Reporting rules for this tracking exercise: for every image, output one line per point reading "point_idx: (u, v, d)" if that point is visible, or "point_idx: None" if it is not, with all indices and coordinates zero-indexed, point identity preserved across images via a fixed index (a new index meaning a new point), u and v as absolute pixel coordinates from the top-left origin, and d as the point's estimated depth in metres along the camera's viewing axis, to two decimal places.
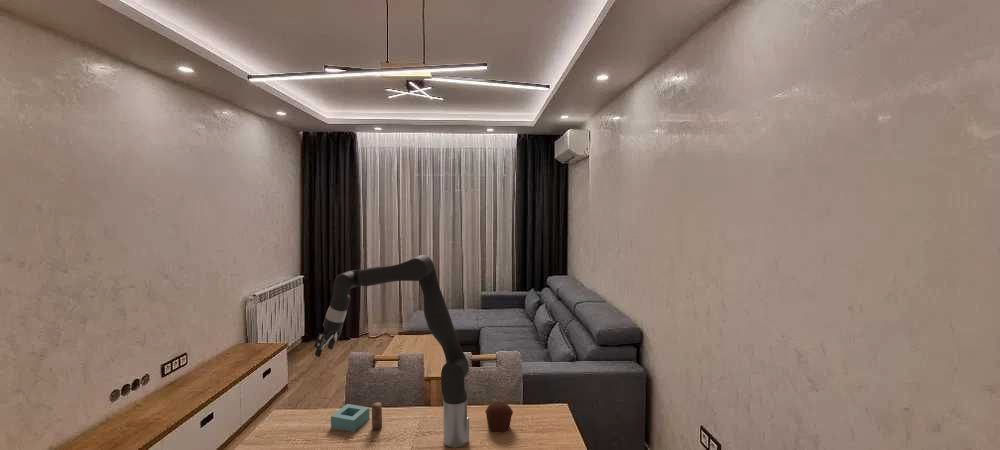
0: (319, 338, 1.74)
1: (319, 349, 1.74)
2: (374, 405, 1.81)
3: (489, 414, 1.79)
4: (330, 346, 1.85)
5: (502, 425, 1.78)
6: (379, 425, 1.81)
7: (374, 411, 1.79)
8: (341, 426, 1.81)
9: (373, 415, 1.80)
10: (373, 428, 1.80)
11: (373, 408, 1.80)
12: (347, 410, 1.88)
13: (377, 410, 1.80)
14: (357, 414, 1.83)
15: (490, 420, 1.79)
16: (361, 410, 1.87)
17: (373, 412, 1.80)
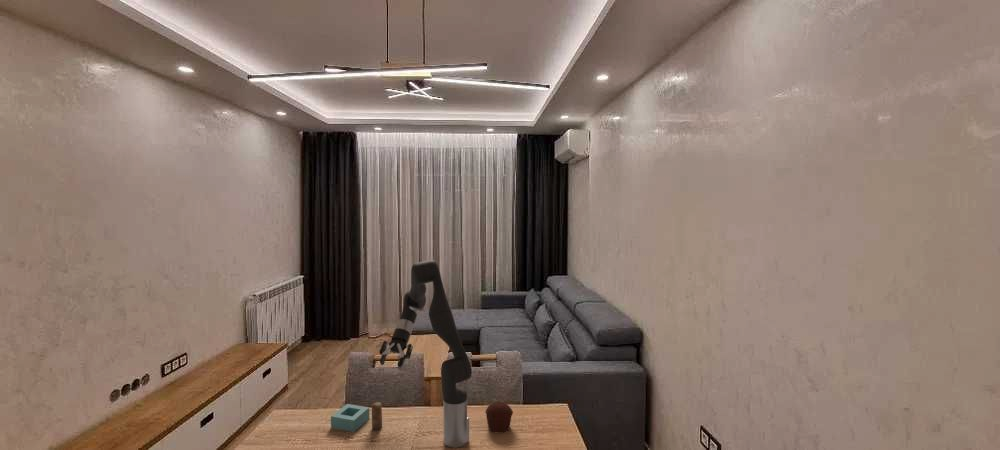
0: None
1: (379, 352, 1.95)
2: (374, 405, 1.81)
3: (489, 414, 1.79)
4: None
5: (502, 425, 1.78)
6: (379, 425, 1.81)
7: (374, 411, 1.79)
8: (341, 426, 1.81)
9: (373, 415, 1.80)
10: (373, 428, 1.80)
11: (373, 408, 1.80)
12: (347, 410, 1.88)
13: (377, 410, 1.80)
14: (357, 414, 1.83)
15: (490, 420, 1.79)
16: (361, 410, 1.87)
17: (373, 412, 1.80)
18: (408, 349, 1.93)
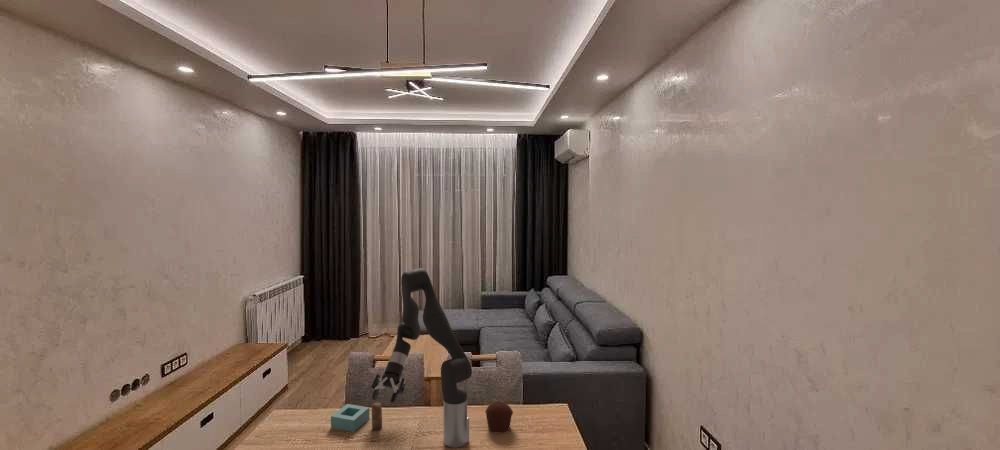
0: None
1: None
2: (374, 405, 1.81)
3: (489, 414, 1.79)
4: None
5: (502, 425, 1.78)
6: (379, 425, 1.81)
7: (374, 411, 1.79)
8: (341, 426, 1.81)
9: (373, 415, 1.80)
10: (373, 428, 1.80)
11: (373, 408, 1.80)
12: (347, 410, 1.88)
13: (377, 410, 1.80)
14: (357, 414, 1.83)
15: (490, 420, 1.79)
16: (361, 410, 1.87)
17: (373, 412, 1.80)
18: (401, 384, 1.88)
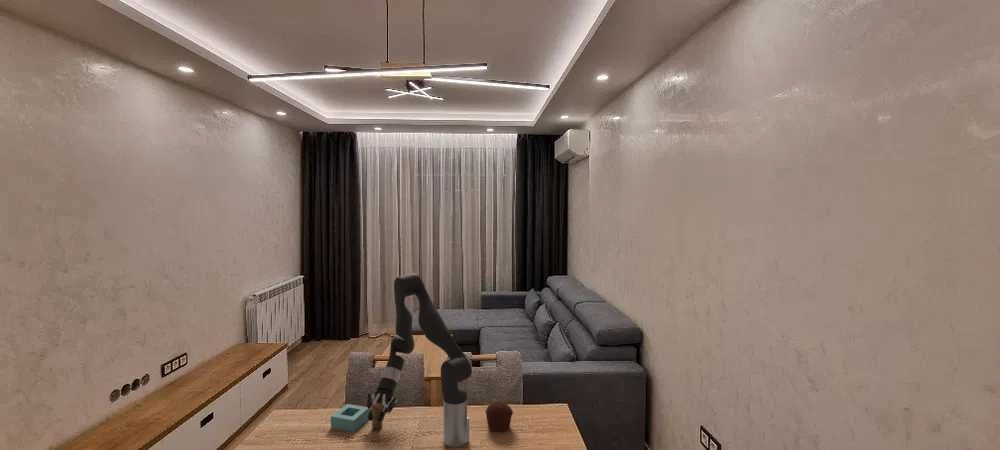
0: None
1: (367, 407, 1.83)
2: (374, 405, 1.81)
3: (489, 414, 1.79)
4: None
5: (502, 425, 1.78)
6: (379, 425, 1.81)
7: (374, 411, 1.79)
8: (341, 426, 1.81)
9: (373, 415, 1.80)
10: (373, 428, 1.80)
11: (373, 408, 1.80)
12: (347, 410, 1.88)
13: (377, 410, 1.80)
14: (357, 414, 1.83)
15: (490, 420, 1.79)
16: (361, 410, 1.87)
17: (373, 412, 1.80)
18: (391, 403, 1.82)
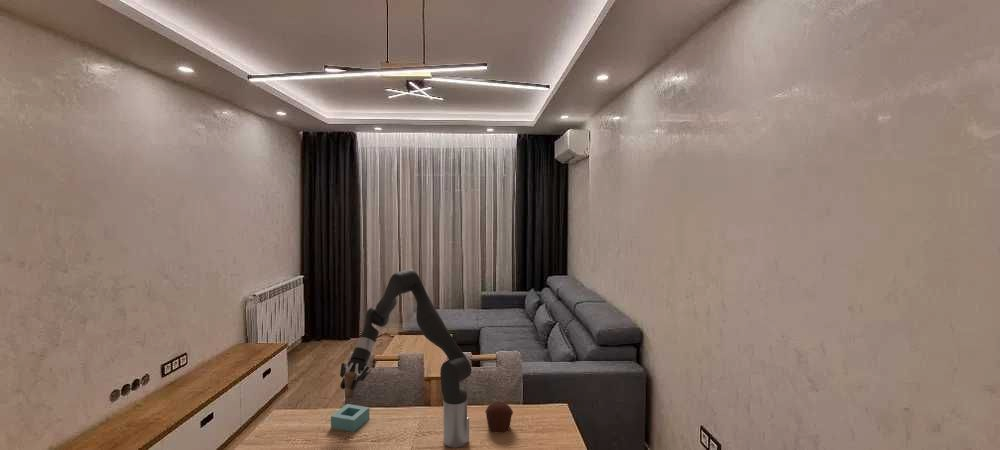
0: None
1: (340, 375, 1.86)
2: (347, 373, 1.83)
3: (489, 414, 1.79)
4: None
5: (502, 425, 1.78)
6: (352, 393, 1.83)
7: (346, 379, 1.82)
8: (341, 426, 1.81)
9: (346, 383, 1.83)
10: (346, 396, 1.83)
11: (346, 376, 1.82)
12: (347, 410, 1.88)
13: (349, 378, 1.82)
14: (357, 414, 1.83)
15: (490, 420, 1.79)
16: (361, 410, 1.87)
17: (346, 380, 1.82)
18: (364, 372, 1.85)
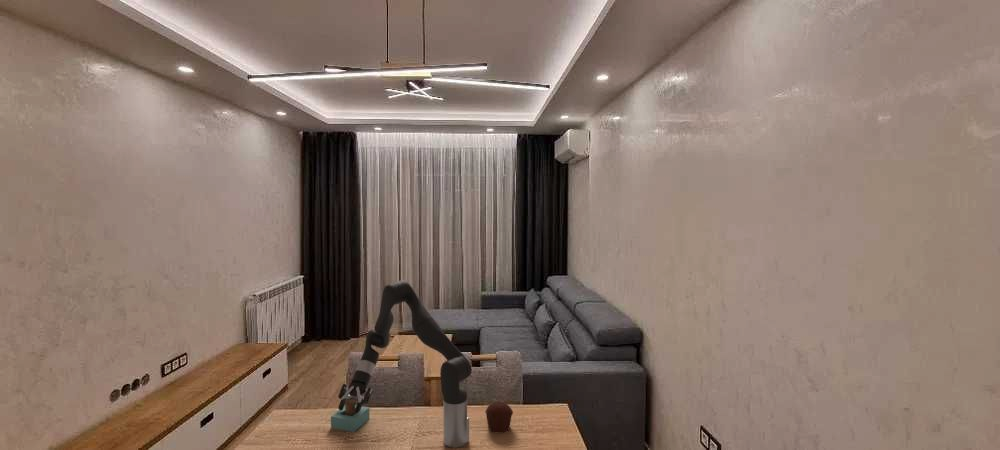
0: None
1: None
2: (347, 400, 1.84)
3: (489, 414, 1.79)
4: None
5: (502, 425, 1.78)
6: None
7: (347, 406, 1.83)
8: (341, 426, 1.81)
9: (346, 410, 1.84)
10: None
11: (346, 403, 1.83)
12: None
13: (350, 405, 1.83)
14: (357, 414, 1.83)
15: (490, 420, 1.79)
16: (361, 410, 1.87)
17: (346, 407, 1.84)
18: (366, 394, 1.86)
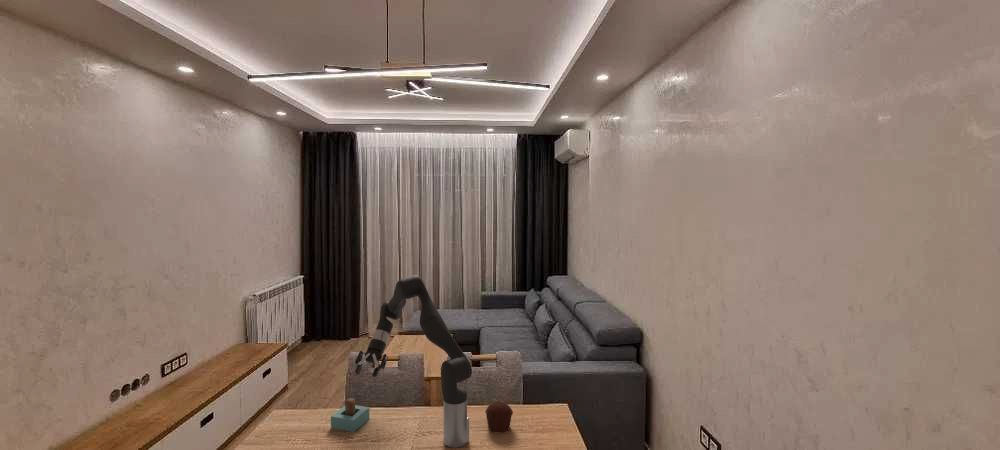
0: None
1: (355, 362, 1.99)
2: (347, 400, 1.84)
3: (489, 414, 1.79)
4: None
5: (502, 425, 1.78)
6: None
7: (347, 406, 1.83)
8: (341, 426, 1.81)
9: (346, 410, 1.84)
10: None
11: (346, 403, 1.83)
12: None
13: (350, 405, 1.83)
14: (357, 414, 1.83)
15: (490, 420, 1.79)
16: (361, 410, 1.87)
17: (346, 407, 1.84)
18: (383, 359, 1.97)
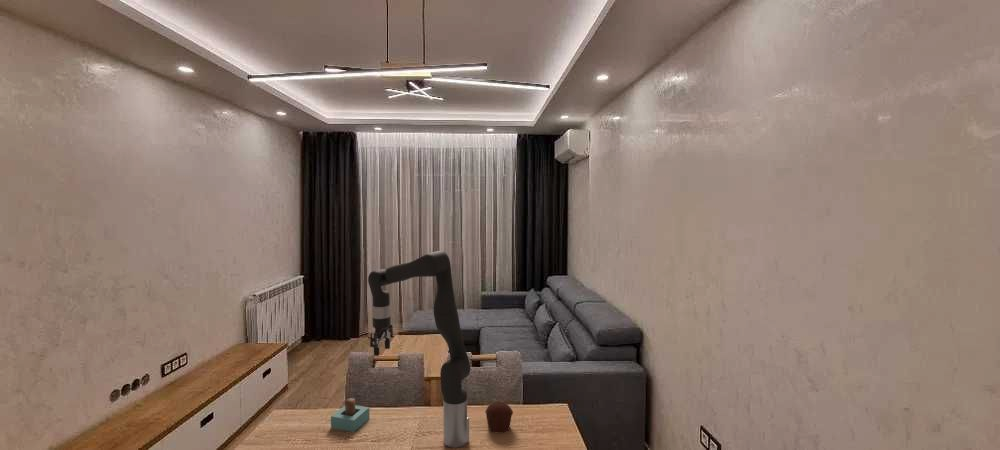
0: (372, 337, 1.84)
1: (375, 347, 1.84)
2: (347, 400, 1.84)
3: (489, 414, 1.79)
4: (386, 345, 1.94)
5: (502, 425, 1.78)
6: None
7: (347, 406, 1.83)
8: (341, 426, 1.81)
9: (346, 410, 1.84)
10: None
11: (346, 403, 1.83)
12: None
13: (350, 405, 1.83)
14: (357, 414, 1.83)
15: (490, 420, 1.79)
16: (361, 410, 1.87)
17: (346, 407, 1.83)
18: (392, 330, 1.96)
